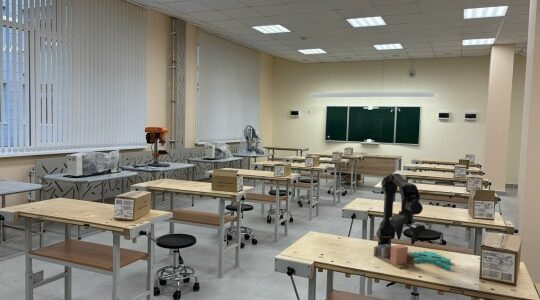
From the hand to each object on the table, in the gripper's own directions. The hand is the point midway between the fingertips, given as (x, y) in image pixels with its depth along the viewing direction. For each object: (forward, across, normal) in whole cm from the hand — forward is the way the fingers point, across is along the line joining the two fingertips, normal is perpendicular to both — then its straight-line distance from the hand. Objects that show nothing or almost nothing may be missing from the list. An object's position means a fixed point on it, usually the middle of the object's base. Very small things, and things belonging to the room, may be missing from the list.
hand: (405, 241), depth 189 cm
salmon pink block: (+12, -4, 0) cm, 12 cm away
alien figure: (+13, -3, +20) cm, 24 cm away
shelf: (+12, -9, +1) cm, 15 cm away
